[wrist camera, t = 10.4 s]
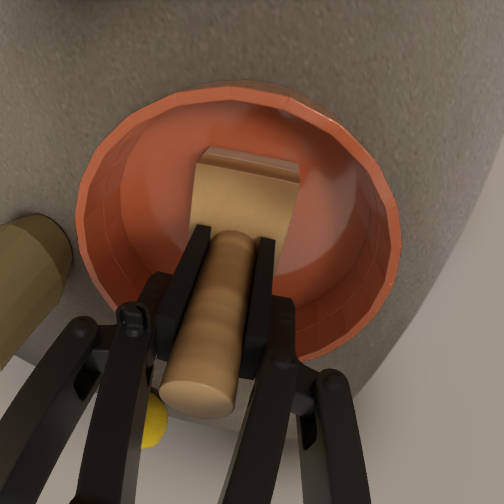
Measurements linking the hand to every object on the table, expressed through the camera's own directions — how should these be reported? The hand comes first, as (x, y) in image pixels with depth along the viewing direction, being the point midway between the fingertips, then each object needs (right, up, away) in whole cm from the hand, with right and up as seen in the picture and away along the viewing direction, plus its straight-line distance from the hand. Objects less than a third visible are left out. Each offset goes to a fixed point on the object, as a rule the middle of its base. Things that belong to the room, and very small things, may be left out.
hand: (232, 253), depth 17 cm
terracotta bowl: (0, +2, +4) cm, 4 cm away
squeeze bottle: (-17, +1, +7) cm, 18 cm away
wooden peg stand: (0, +2, +3) cm, 3 cm away
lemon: (-11, -17, +18) cm, 27 cm away
